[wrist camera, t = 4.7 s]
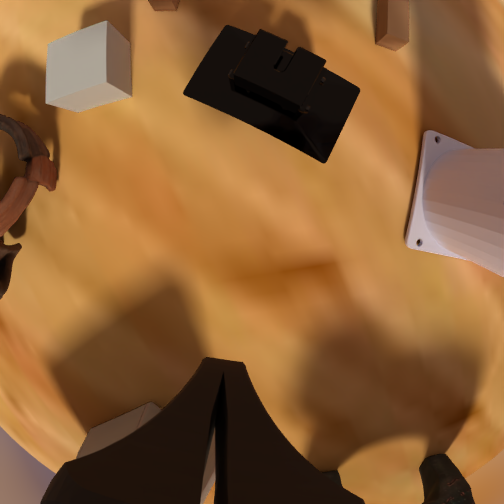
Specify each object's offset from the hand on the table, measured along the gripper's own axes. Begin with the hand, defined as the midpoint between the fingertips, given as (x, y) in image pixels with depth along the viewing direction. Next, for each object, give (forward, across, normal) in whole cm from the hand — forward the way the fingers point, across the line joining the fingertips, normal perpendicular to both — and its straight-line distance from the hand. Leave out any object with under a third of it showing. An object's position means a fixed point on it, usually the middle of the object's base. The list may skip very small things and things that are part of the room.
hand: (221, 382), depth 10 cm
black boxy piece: (+11, 0, -12) cm, 16 cm away
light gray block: (+10, +10, -12) cm, 19 cm away
